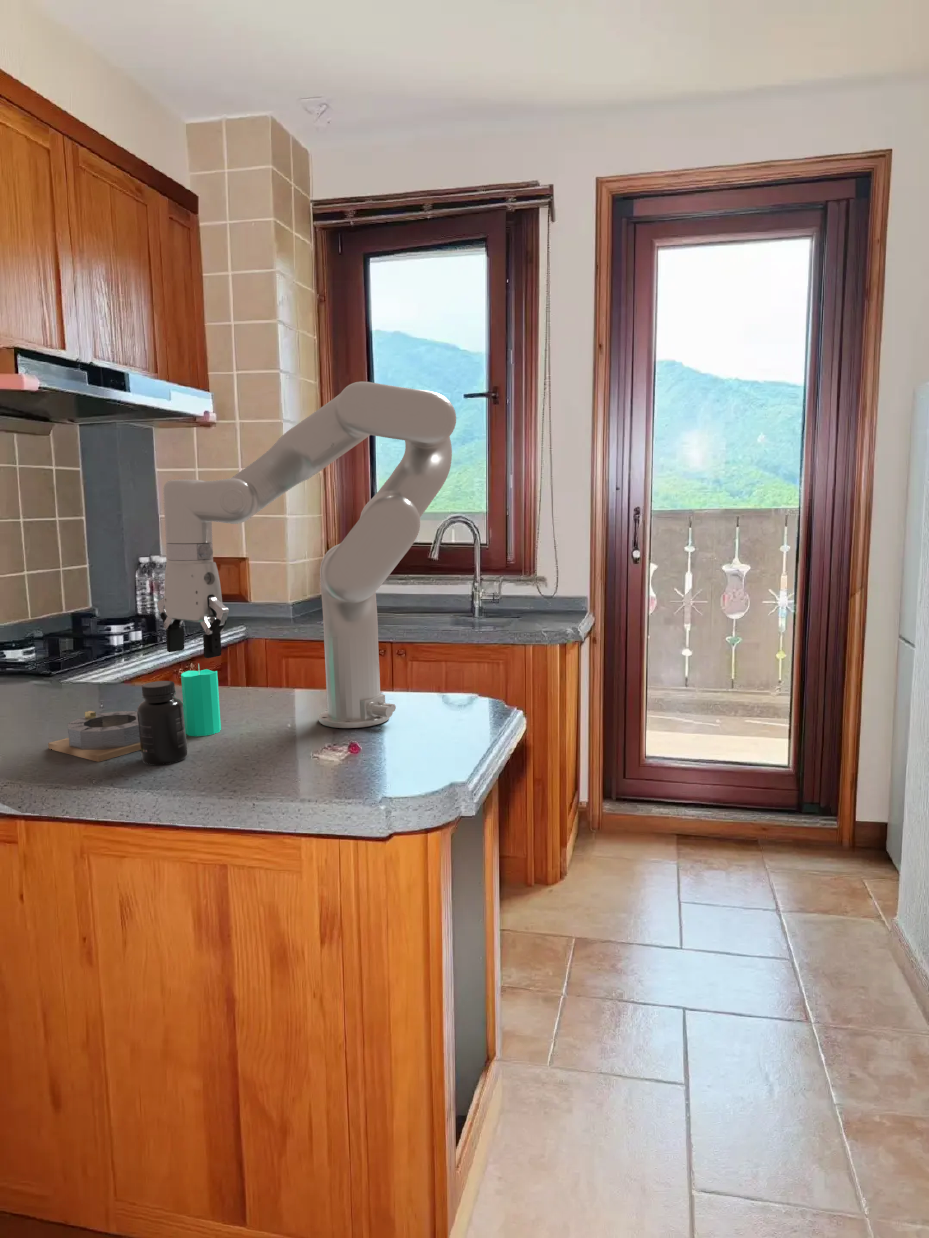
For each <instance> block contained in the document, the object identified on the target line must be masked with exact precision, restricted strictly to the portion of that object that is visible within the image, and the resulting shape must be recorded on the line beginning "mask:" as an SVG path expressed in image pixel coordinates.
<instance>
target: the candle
mask: <svg viewBox="0 0 929 1238" xmlns="http://www.w3.org/2000/svg"><path fill="white" fill-rule="evenodd" d="M197 664H198V666H197V668H198V670H186V671H183V672H182V673H181V674H180V679H181V680H180V682H181V694H182V696H181V697H182V703H183V708H184V719H185V729H186V734H187V735H186V736H189V737H206V736H212V735H215V733H216V734H219V733H220V732H221V731H220V730H222V722H221V710H220V709H221V708H220V707H221V706H220V693H219V679H218V670H215V671H214V670H210V669H208V668H206V669H201V670H200V663H197Z"/></svg>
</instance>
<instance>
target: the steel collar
mask: <svg viewBox="0 0 929 1238" xmlns="http://www.w3.org/2000/svg"><path fill="white" fill-rule="evenodd" d="M67 731H68V734H67V735H68V738H69V745H70V747H73V748H77V749H81V750H105V749H112V748H120V747H126V746H130V745H133V744H137V743H140V736H139V726H138V716H137V710H136V711H135V710H130V711H129V710H124V711H123V710H121V711H119V710H118V711H109V712H102V713H96V711H94V710H93V711H92V710H88V711H84V716H83V717H78V718H77V719H74V720H72V721H70V722H68V723H67Z"/></svg>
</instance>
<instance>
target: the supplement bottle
mask: <svg viewBox="0 0 929 1238" xmlns="http://www.w3.org/2000/svg"><path fill="white" fill-rule="evenodd" d="M175 687H176V685H175V682H174V681H171V680H160V681H159V680H158V681H151V682H147V683H144V684H143V685H142V684H141V697H142V699H143V701H141V702H140V703H139V705H138V706H137V710H136V711H137V716H138V726H139V736H140V746H141V750H140V753H141V754H140V755H141V760H142V762H143V763H145V764H147V765H151V766H152V765H153V766H163V765H169V764H173V763H177V762H181V761H182V760H184V759H186V757H187V756H188V741H187V735H186V729H185V719H184V708H183V701H181V700H180V699H179V698H177V697H175V695H176V693H177V692H176V688H175Z"/></svg>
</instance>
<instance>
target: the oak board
mask: <svg viewBox="0 0 929 1238" xmlns="http://www.w3.org/2000/svg"><path fill="white" fill-rule="evenodd" d="M47 745H48V749H49V750H51V749H52V751H56V752H59V753H63V754H66V755H71V756H75V757H78V758H82V759H86V760H89V761H93V762H96V763H100V762H103V761H107V760H110V759H114V758H117V757H120V756H124V755H128V754H131V753H134V752H137V751H141V746H140V743H137V744H133V745H130V746H126V747H120V748H112V749H105V750H81V749H77V748H73V747H70V745H69V737H66V738H63V739H59V740H58V739H57V740H54V741H50V742H48V744H47Z"/></svg>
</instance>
